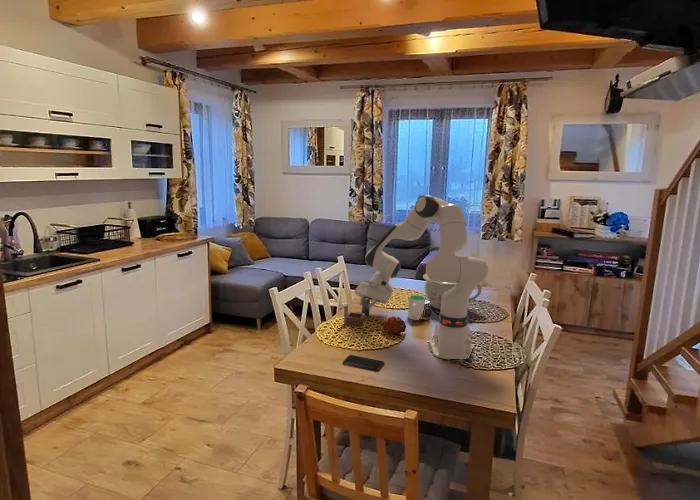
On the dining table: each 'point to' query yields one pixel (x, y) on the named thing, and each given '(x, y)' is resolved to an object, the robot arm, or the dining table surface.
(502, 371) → the dining table surface
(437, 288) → the chamber pot
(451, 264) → the robot arm
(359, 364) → the phone
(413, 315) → the mug
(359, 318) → the keeper
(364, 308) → the steel toggle
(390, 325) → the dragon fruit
